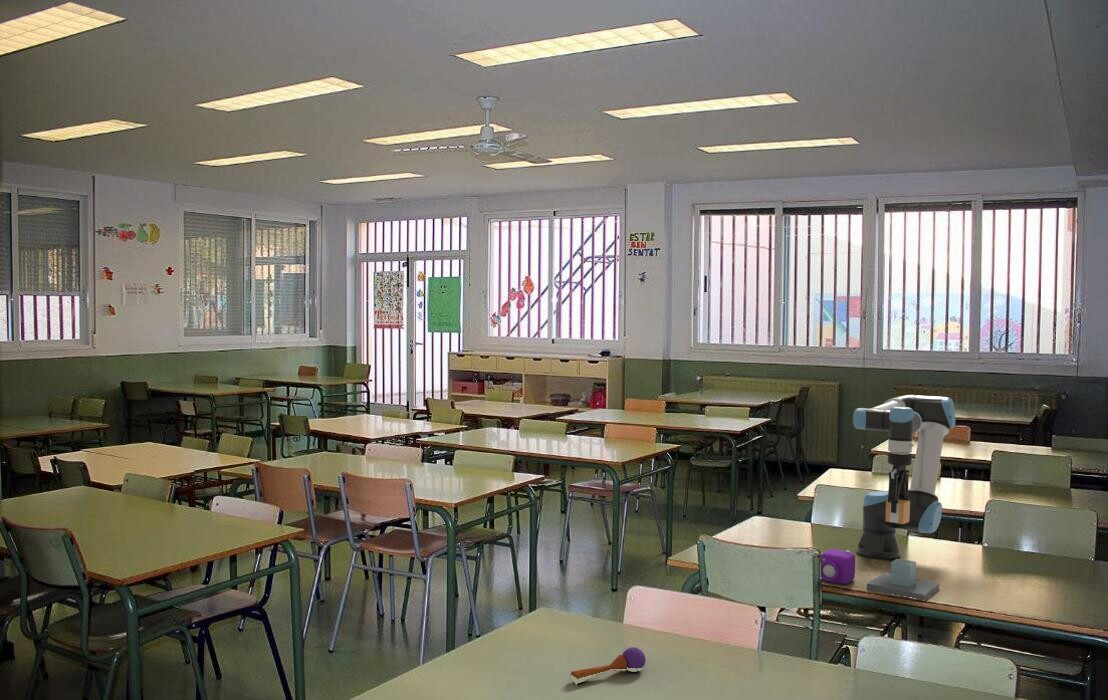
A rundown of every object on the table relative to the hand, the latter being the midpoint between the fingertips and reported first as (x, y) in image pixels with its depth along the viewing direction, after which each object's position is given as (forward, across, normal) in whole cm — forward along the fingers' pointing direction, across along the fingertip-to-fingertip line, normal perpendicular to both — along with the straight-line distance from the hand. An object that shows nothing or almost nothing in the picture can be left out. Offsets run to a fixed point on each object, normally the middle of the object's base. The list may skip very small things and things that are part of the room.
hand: (897, 520), depth 303 cm
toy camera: (+20, -18, +14) cm, 30 cm away
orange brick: (0, 0, 0) cm, 0 cm away
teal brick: (+18, -11, -6) cm, 22 cm away
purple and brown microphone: (+24, -131, +25) cm, 136 cm away
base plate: (+20, -11, -6) cm, 24 cm away
